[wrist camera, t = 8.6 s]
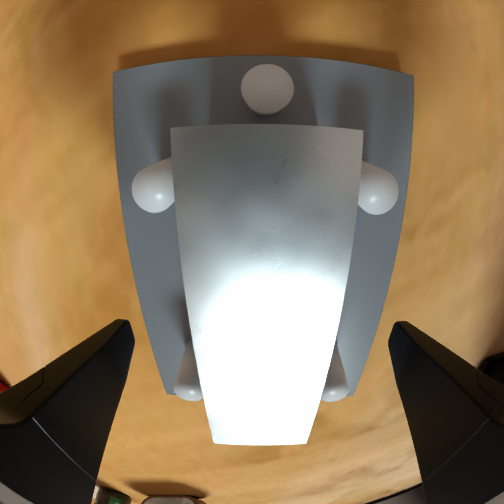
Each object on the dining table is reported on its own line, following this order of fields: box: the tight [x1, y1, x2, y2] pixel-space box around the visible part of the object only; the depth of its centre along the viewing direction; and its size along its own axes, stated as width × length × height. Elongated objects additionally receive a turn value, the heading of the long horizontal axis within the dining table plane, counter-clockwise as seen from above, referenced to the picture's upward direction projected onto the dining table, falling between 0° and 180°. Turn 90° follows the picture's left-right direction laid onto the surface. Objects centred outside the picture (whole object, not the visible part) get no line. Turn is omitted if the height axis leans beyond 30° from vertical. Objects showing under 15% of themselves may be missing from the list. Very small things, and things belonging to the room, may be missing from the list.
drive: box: [170, 124, 363, 445], centre depth 10 cm, size 4×12×5 cm, turn 0°
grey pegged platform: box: [113, 55, 414, 402], centre depth 12 cm, size 12×18×4 cm, turn 0°
